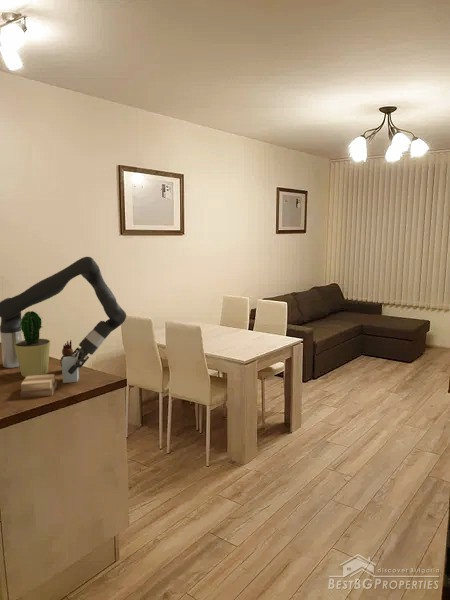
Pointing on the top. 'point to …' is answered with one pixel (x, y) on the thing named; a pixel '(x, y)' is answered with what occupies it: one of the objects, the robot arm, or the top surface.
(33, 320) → the potted cactus
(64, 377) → the block
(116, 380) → the top surface
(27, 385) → the tower top
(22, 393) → the tower base
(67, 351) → the wooden figurine
